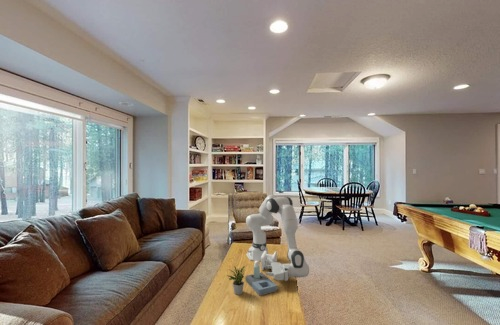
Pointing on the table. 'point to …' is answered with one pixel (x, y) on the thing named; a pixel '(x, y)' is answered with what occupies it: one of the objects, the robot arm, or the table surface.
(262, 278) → the socket panel
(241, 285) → the house plant
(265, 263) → the cable organizer
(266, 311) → the table surface
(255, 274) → the plug
